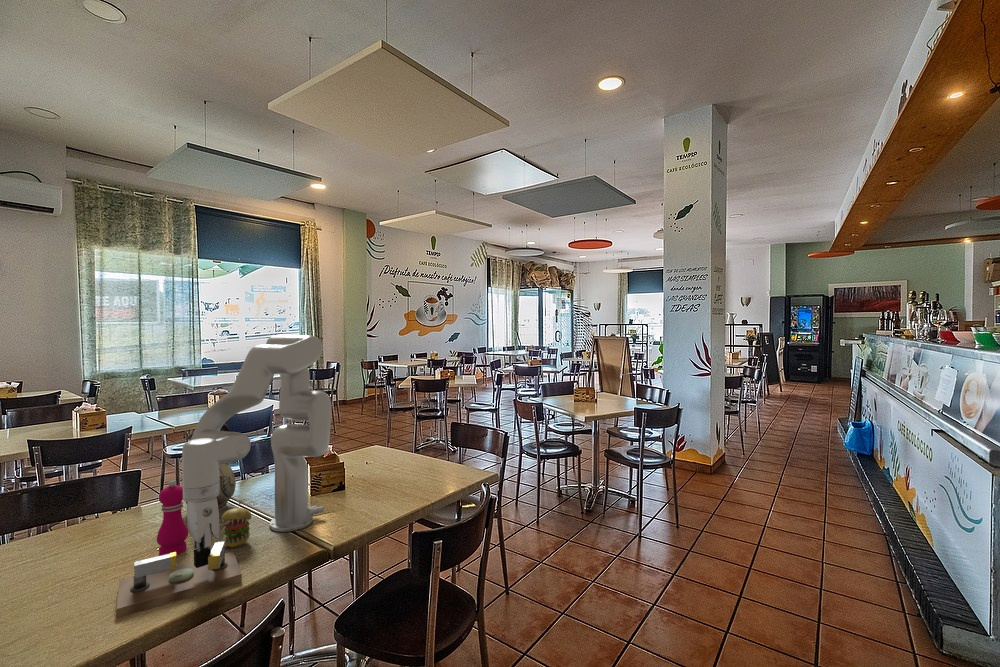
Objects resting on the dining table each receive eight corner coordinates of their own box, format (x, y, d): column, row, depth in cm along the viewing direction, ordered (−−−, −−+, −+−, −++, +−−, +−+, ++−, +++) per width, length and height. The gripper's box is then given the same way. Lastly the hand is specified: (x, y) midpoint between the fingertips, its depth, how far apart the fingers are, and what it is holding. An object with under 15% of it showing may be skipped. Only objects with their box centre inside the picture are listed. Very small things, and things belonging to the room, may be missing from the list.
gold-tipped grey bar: (214, 563, 121) (214, 542, 120) (225, 561, 121) (225, 540, 121) (208, 580, 113) (207, 557, 113) (219, 578, 114) (219, 555, 114)
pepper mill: (172, 559, 127) (171, 486, 126) (150, 556, 129) (149, 483, 128) (194, 546, 134) (194, 477, 134) (173, 544, 136) (172, 475, 135)
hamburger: (216, 550, 132) (216, 508, 132) (227, 538, 139) (227, 498, 139) (246, 548, 133) (246, 506, 133) (255, 537, 140) (255, 497, 140)
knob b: (133, 589, 109) (133, 566, 108) (133, 585, 111) (133, 561, 110) (176, 578, 114) (176, 555, 113) (176, 574, 115) (175, 551, 115)
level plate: (233, 558, 128) (233, 547, 128) (241, 582, 117) (241, 570, 117) (119, 588, 114) (119, 575, 113) (116, 618, 102) (116, 604, 102)
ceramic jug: (176, 522, 150) (175, 428, 149) (188, 504, 164) (187, 419, 163) (237, 515, 156) (236, 424, 155) (244, 498, 170) (243, 415, 170)
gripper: (228, 494, 112) (229, 570, 113) (209, 479, 123) (210, 548, 123) (191, 503, 107) (192, 583, 107) (175, 486, 117) (176, 559, 118)
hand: (202, 564), depth 115 cm, fingers closed
